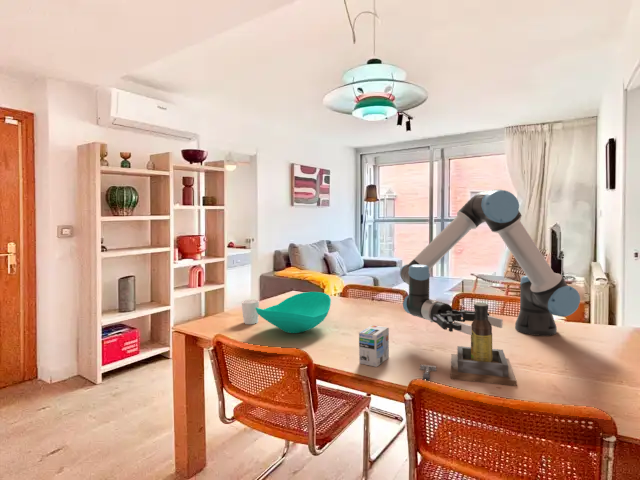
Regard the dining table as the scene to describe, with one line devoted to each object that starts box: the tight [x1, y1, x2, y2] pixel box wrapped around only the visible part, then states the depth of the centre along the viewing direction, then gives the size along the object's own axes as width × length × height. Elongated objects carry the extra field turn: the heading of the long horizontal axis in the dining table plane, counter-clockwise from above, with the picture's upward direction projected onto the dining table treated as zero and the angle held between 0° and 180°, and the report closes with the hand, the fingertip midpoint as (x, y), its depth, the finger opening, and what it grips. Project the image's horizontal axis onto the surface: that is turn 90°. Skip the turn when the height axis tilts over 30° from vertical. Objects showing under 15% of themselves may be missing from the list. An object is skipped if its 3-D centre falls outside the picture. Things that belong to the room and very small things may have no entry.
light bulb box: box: [358, 324, 390, 368], centre depth 138 cm, size 11×7×11 cm, turn 148°
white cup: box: [241, 299, 260, 325], centre depth 189 cm, size 8×8×10 cm
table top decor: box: [256, 291, 332, 334], centre depth 174 cm, size 40×28×13 cm
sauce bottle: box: [470, 302, 493, 362], centre depth 127 cm, size 6×6×20 cm
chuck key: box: [419, 364, 437, 381], centre depth 126 cm, size 9×5×2 cm, turn 162°
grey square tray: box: [450, 345, 518, 387], centre depth 128 cm, size 18×18×5 cm
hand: (486, 327), depth 125 cm, fingers open, 13 cm apart
